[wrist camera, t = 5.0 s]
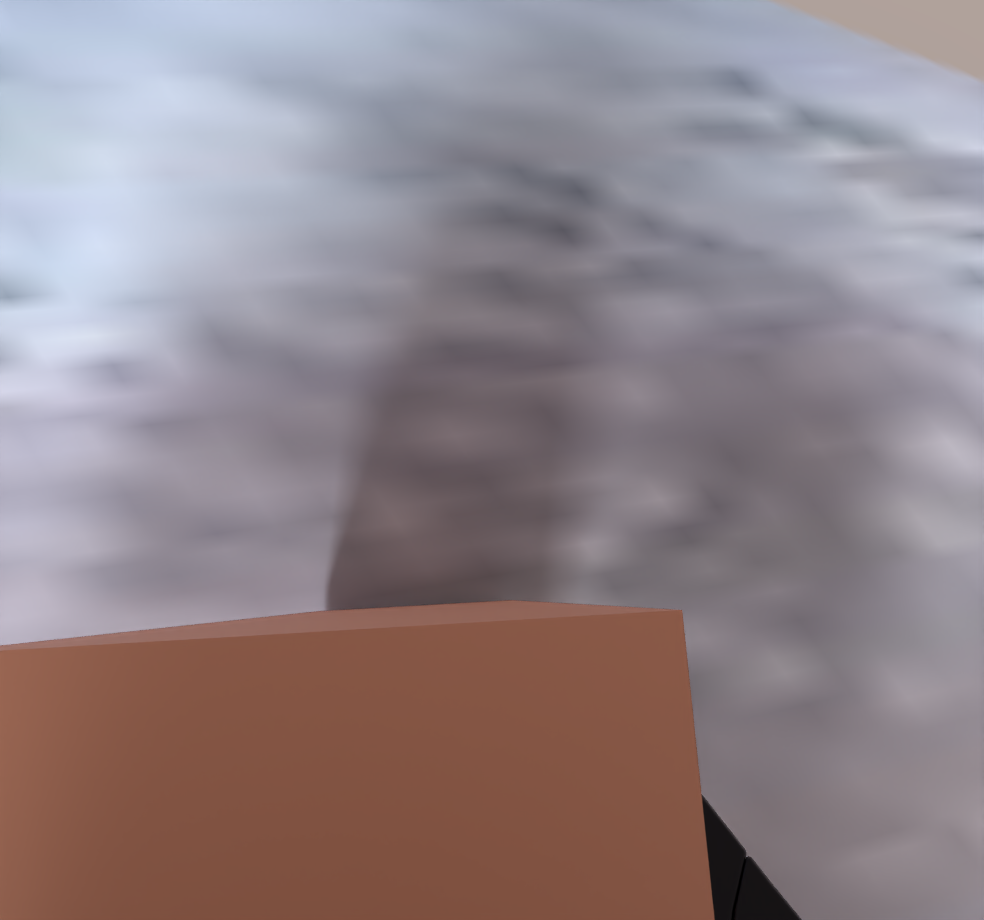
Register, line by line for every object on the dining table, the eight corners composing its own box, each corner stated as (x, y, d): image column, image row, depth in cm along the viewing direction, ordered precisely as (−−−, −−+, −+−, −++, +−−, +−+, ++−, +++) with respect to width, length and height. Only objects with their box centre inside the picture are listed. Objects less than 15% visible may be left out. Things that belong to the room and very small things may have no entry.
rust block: (523, 805, 16) (782, 1564, 3) (319, 820, 15) (-210, 1713, 3) (511, 599, 16) (682, 610, 4) (317, 611, 16) (-103, 655, 4)
